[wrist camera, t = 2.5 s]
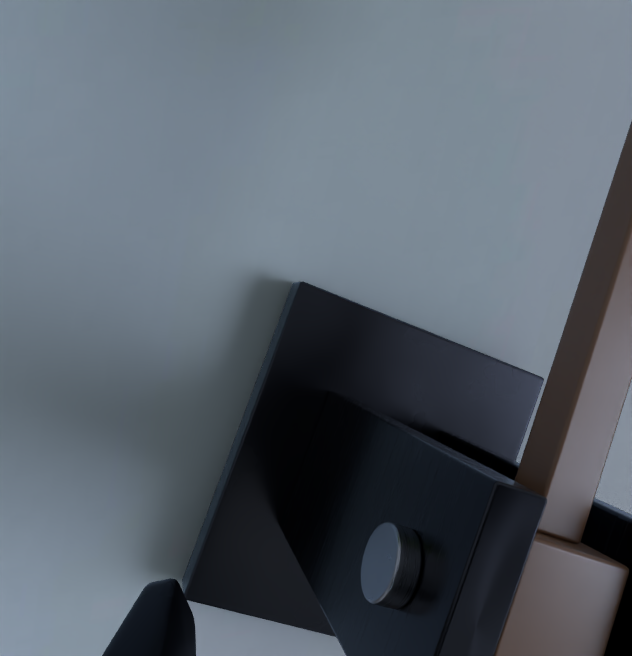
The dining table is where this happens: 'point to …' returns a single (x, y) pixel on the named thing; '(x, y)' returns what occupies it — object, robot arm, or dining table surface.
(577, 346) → the lever
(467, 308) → the dining table surface
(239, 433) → the bracket
